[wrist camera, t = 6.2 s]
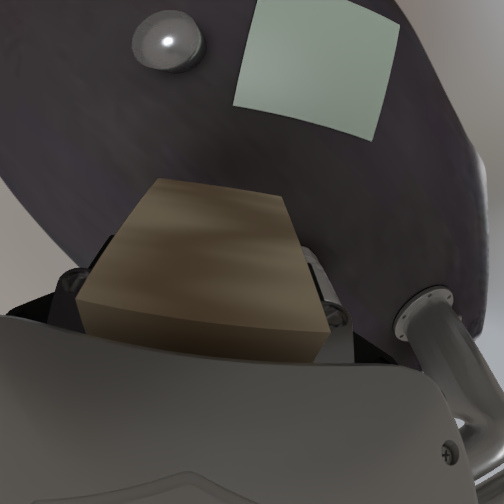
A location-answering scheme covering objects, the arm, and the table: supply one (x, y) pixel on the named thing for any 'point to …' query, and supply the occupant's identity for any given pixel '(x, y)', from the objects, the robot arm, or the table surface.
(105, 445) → the robot arm
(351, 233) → the table surface
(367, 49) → the sage plate
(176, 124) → the table surface
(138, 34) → the grey metal cylinder
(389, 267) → the table surface
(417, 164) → the table surface
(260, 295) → the maple block
